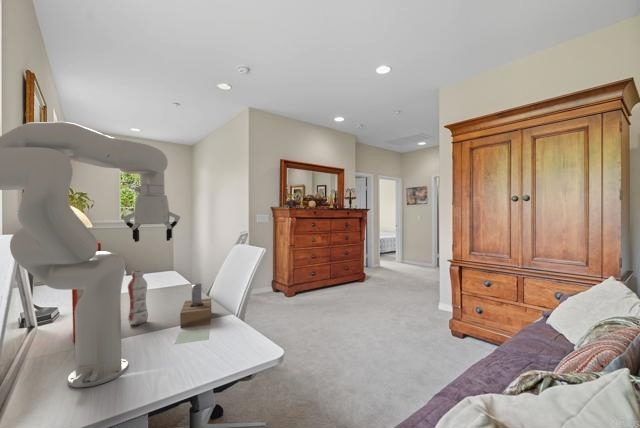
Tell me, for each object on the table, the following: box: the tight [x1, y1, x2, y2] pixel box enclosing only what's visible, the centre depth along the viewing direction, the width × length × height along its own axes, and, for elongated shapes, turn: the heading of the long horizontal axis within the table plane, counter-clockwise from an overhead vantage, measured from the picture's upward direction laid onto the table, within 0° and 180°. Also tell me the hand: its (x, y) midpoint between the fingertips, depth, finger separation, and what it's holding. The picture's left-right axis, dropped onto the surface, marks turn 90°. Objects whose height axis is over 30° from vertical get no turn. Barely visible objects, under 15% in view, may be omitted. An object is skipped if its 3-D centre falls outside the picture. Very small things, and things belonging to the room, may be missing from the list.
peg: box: [191, 283, 203, 307], centre depth 115 cm, size 4×4×14 cm
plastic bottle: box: [127, 270, 149, 326], centre depth 112 cm, size 6×7×20 cm
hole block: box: [179, 297, 212, 329], centre depth 115 cm, size 16×10×6 cm, turn 19°
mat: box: [174, 328, 211, 345], centre depth 99 cm, size 10×10×1 cm
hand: (152, 240), depth 102 cm, fingers open, 9 cm apart
